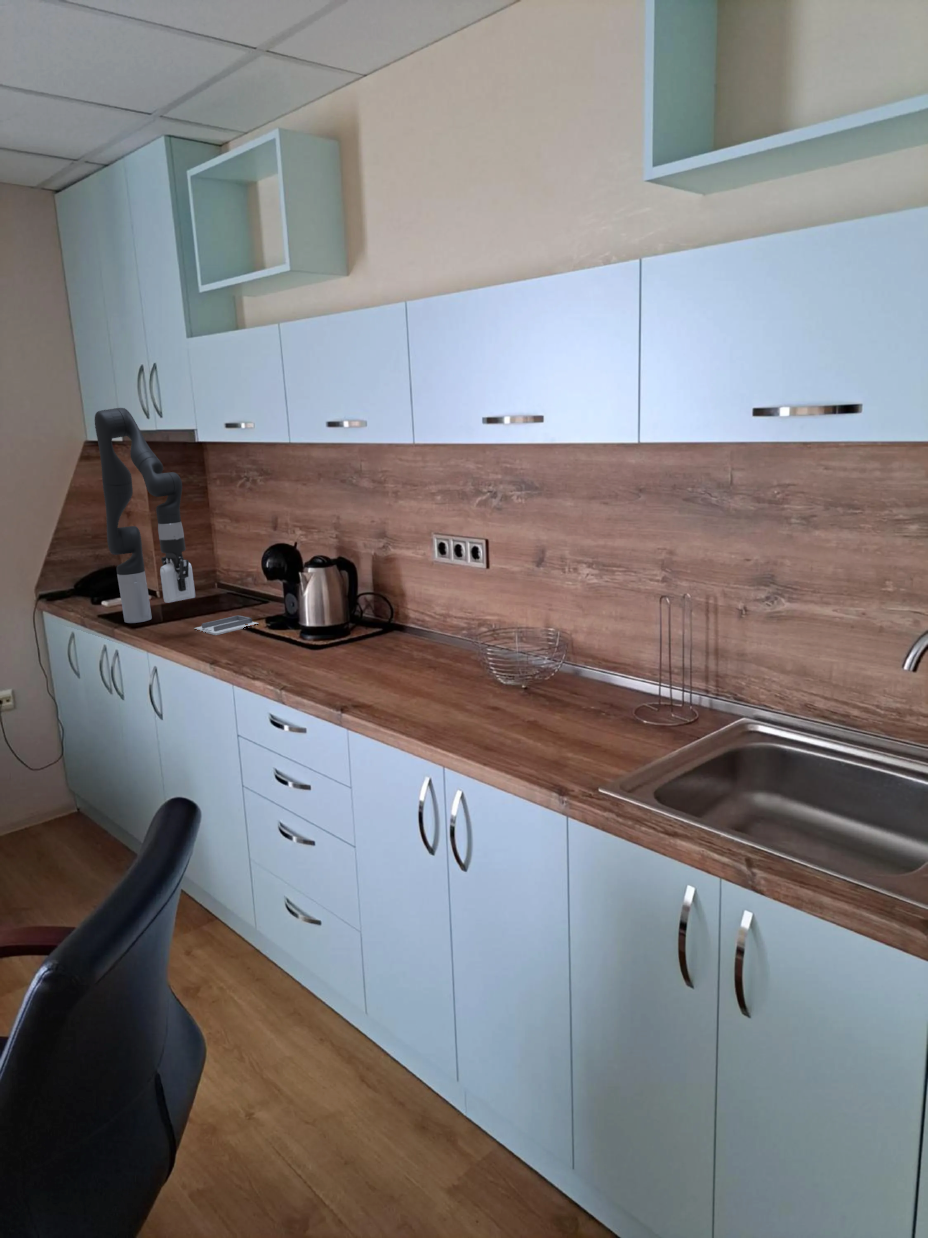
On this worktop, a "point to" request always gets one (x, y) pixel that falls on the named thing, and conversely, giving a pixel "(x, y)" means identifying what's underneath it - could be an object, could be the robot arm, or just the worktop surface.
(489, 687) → the worktop surface
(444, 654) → the worktop surface
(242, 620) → the dock
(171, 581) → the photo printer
